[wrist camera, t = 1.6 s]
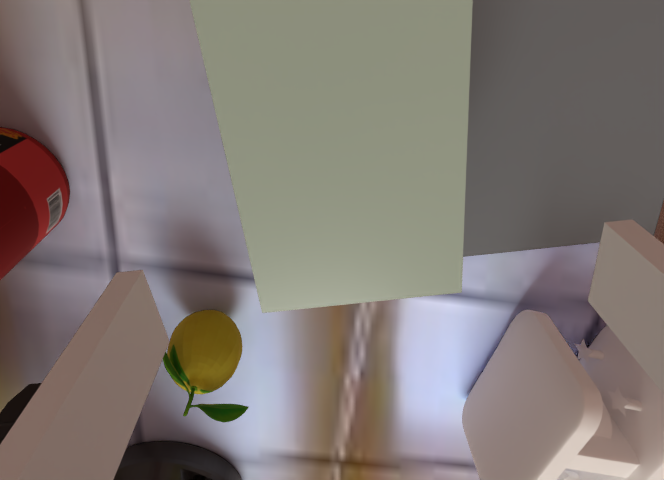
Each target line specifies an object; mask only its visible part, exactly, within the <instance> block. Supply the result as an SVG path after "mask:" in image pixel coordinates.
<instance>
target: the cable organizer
mask: <svg viewBox="0 0 664 480" xmlns="http://www.w3.org/2000/svg"><path fill="white" fill-rule="evenodd" d="M574 344H575V343H574ZM575 345H576V347H577V349H578V351H579V353H578V359H580V361H579V360H578V359H577V357H576V356H575V354H574V353H573V351H572V350H571V348H570V347H569V345H568V344H567V342H566V341H565V339H564V338H563V337H562V335H561V334H560V332H559V331H558V329H557V328H556V326H555V325H554V323H553V322H552V320H551V319H550V317H549V316H548V315H547V314H545V313H543V312H538V311H534V310H523V311H521V312H520V313H519V314H518V315H517V316H516V317H515V318H514V320H513V321H512V322H511V323H510V325H509V327H508V329H507V330H506V332H505V334H504V336H503V338H502V339H501V341H500V343H499V345H498V347H497V348H496V350H495V352H494V353H493V355H492V357H491V359H490V360H489V362H488V364H487V365H486V367H485V369H484V370H483V372H482V373H481V375H480V376H479V378H478V380H477V381H476V383H475V385H474V386H473V388H472V390H471V391H470V394H469V396H468V397H467V399H466V402H465V404H464V408H463V413H462V424H463V429H464V432H465V435H466V438H467V441H468V444H469V447H470V451H471V454H472V457H473V460H474V463H475V466H476V469H477V472H478V475H479V478H480V480H557V479H559V480H664V394H663V393H662V392H661V390H660V389H659V388H658V387H657V385H656V384H655V383H654V382H653V381H652V379H651V378H650V377H649V376H648V374H647V373H646V372H645V371H644V369H643V368H642V367H641V366H640V365H639V363H638V362H637V361H636V360H635V358H634V357H633V356H632V355H631V353H630V352H629V351H628V350H627V349H626V347H625V346H624V345H623V344H622V342H621V341H620V340H619V339H618V338H617V336H616V335H615V334H614V333H613V331H612V330H611V329H610V328H609V326H608V325H606V326H605V327H604V328H603V329H602V330H601V332H600V333H599V334H598V335H597V336H596V338H595V339H594V340H593V342H592V343H591V345H590V346H589V347H588V348H587V347H586V345H585V342H584V339H583V340H582V343H581V345H579V344H575Z"/></svg>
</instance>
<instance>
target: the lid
mask: <svg viewBox="0 0 664 480" xmlns="http://www.w3.org/2000/svg"><path fill="white" fill-rule="evenodd" d="M190 5H191V9H192V13H193V18H194V22H195V26H196V30H197V35H198V39H199V43H200V48H201V52H202V56H203V61H204V65H205V69H206V73H207V78H208V82H209V86H210V91H211V95H212V99H213V103H214V108H215V112H216V116H217V121H218V125H219V129H220V133H221V138H222V142H223V146H224V151H225V155H226V159H227V164H228V168H229V172H230V176H231V181H232V185H233V189H234V194H235V198H236V202H237V206H238V211H239V215H240V219H241V224H242V228H243V232H244V236H245V241H246V245H247V249H248V254H249V258H250V262H251V266H252V271H253V275H254V279H255V284H256V288H257V292H258V297H259V301H260V305H261V309H262V313H267V312H277V311H287V310H296V309H306V308H316V307H325V306H335V305H345V304H354V303H364V302H374V301H383V300H393V299H402V298H412V297H422V296H431V295H441V294H451V293H460V292H462V268H463V242H464V215H465V189H466V163H467V136H468V110H469V84H470V58H471V31H472V5H473V0H190Z"/></svg>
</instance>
